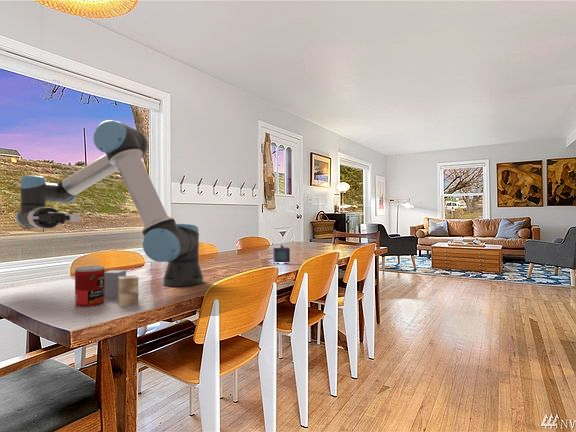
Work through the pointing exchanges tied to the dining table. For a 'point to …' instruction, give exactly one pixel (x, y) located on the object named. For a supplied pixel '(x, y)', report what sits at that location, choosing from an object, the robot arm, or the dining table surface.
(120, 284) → the beech block
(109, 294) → the slate-blue painted block
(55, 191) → the robot arm
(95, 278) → the canned food
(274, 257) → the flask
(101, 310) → the dining table surface
